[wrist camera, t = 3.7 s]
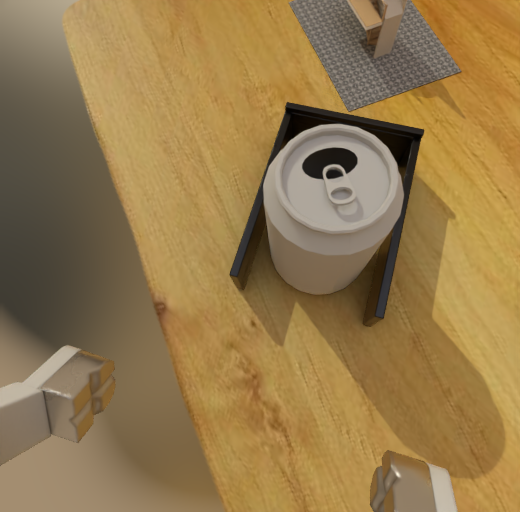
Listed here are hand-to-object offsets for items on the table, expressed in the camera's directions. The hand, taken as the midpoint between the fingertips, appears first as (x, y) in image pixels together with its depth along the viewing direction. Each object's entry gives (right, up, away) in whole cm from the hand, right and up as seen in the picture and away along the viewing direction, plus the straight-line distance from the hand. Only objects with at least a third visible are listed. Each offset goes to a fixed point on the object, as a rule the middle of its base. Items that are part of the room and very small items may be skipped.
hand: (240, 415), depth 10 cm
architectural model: (+11, +26, +26) cm, 38 cm away
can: (+5, +5, +19) cm, 20 cm away
